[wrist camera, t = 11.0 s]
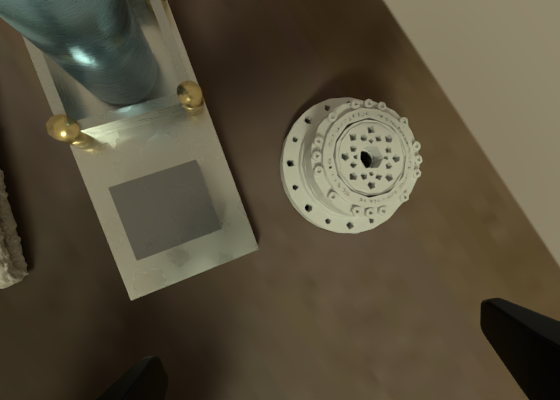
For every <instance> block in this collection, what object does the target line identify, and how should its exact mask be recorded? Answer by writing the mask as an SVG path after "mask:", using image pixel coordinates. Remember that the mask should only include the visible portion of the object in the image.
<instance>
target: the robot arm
mask: <svg viewBox="0 0 560 400" xmlns="http://www.w3.org/2000/svg"><path fill="white" fill-rule="evenodd" d="M480 324H481V329H482V332H483V334H484V335H485V337H486V338H487V340H488V341H489V343H490V344H491V345H492V347H493V348H494V350H495V351H496V353H497V354H498V356H499V357H500V359H501V360H502V362H503V363H504V364H505V366H506V367H507V369H508V370H509V372H510V373H511V375H512V376H513V378H514V379H515V381H516V382H517V383H518V385H519V386H520V388H521V389H522V390H523V392H524V393H525V395H526V396H527V397H528V399H529V400H560V321H557V320H555V319H552V318H550V317H547V316H545V315H542V314H539V313H537V312H534V311H532V310H529V309H527V308H524V307H522V306H519V305H517V304H514V303H512V302H509V301H507V300H504V299H501V298H492V299H486V300H483V301H482V302H481V319H480ZM167 386H168V377H167V374H166V371H165V369H164V367H163V364H162V362H161V360H160V358H159V357H158V356H156V355H154V356H148V357H144V358H142V359H140V360H139V361H138V362H137V363H136V364H135V365H134V366H133V367H131V368H130V369H129V370H128V371H127V372H126V373H125V374H124V375H123V376H122V377H121V378H119V379H118V380H117V381H116V382H115V383H114V384H113V385H112V386H111V387H110V388H108V389H107V390H106V391H105V392H104V393H103V394H102V395H101V396H100V397H99V398H97V399H96V400H165V395H166V391H167Z"/></svg>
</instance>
